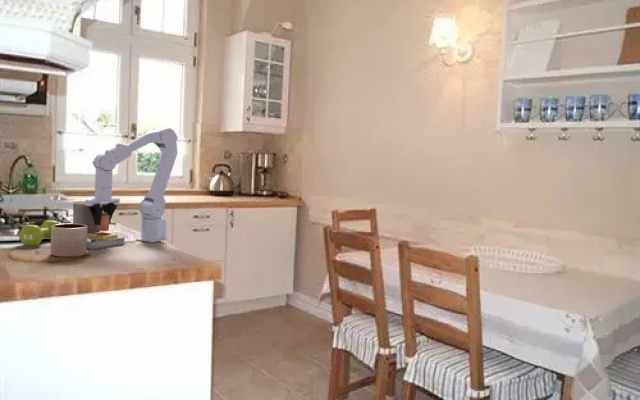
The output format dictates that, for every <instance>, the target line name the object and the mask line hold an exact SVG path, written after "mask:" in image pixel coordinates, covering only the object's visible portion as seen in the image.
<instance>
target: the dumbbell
mask: <svg viewBox="0 0 640 400" xmlns="http://www.w3.org/2000/svg"><path fill="white" fill-rule="evenodd" d="M55 224H60V223H59V221H57V220H53V219H52V220H51V219H50V220H49V219H48V220H47V219H46V220H45V221H44V222H43V223H42V224H41V226H39V225H36V224H26V225H24V226H23V227H22V228H21V230H20V231H19V232H18V233H19V234H18V237H19V239H20V242H21V243H22V244H23V246H26V247H36V246H39V245H40V243H41V242H42V240H43V238H51V226H52V225H55Z"/></svg>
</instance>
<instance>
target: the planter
mask: <svg viewBox="0 0 640 400" xmlns="http://www.w3.org/2000/svg"><path fill="white" fill-rule="evenodd" d="M87 251H88V249H87V225H83V224H73V222H72V223H59V224H55V225H52V226H51V240H50V255H51V256H53V257H55V256H58V257H57V258H63V257H72V258H79V256H80V257H83V256H86V254H87V253H88V252H87Z"/></svg>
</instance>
